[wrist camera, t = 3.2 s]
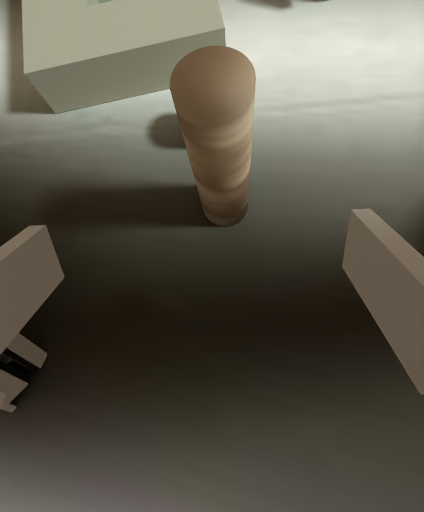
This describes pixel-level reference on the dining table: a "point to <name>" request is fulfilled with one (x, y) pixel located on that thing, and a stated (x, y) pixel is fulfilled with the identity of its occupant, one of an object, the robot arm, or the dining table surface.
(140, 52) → the sage block
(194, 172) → the maple pin
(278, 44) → the dining table surface
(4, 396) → the magnetic window cleaner
